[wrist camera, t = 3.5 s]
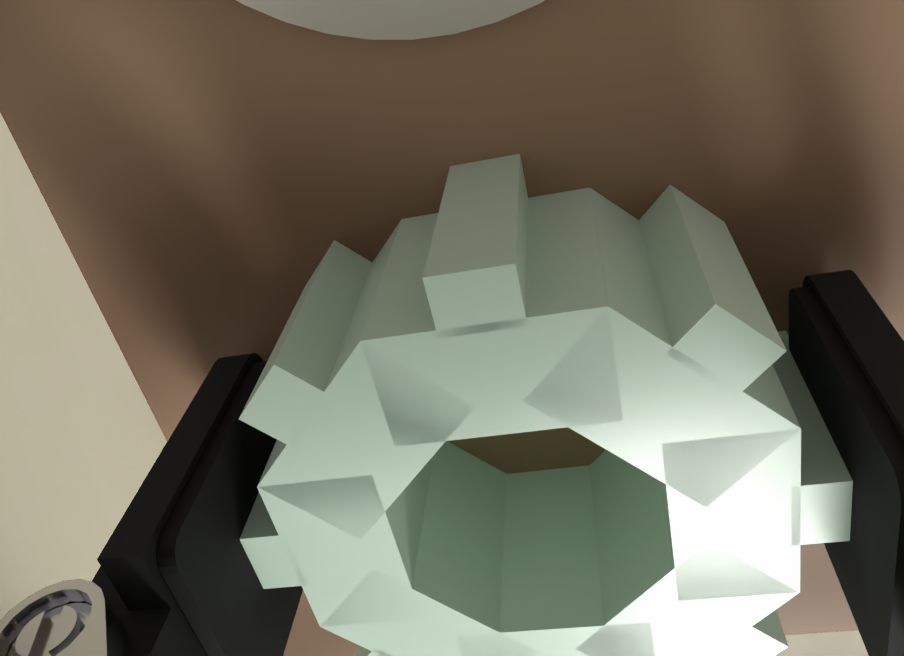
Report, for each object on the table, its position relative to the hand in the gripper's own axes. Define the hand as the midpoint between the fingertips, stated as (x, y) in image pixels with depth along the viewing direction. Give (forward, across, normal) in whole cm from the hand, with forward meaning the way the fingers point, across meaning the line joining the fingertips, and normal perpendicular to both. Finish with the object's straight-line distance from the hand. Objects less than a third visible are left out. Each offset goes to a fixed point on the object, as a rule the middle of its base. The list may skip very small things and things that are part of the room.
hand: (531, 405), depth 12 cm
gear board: (+2, 0, -8) cm, 8 cm away
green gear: (0, 0, 0) cm, 0 cm away
